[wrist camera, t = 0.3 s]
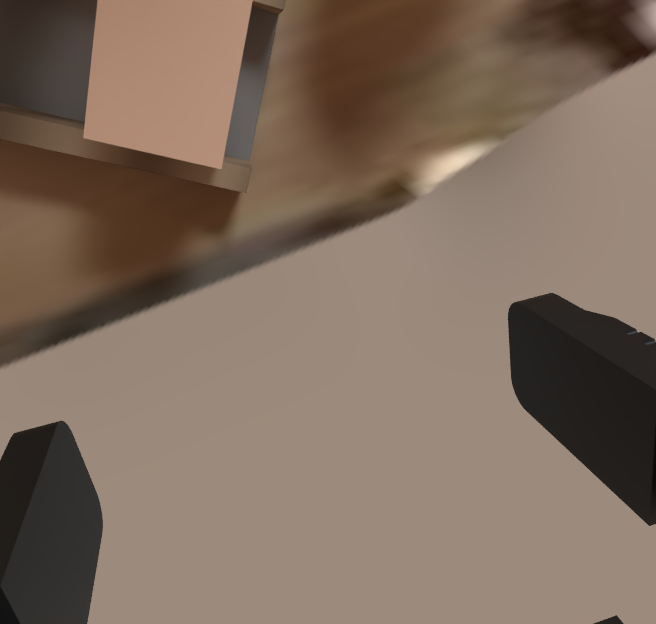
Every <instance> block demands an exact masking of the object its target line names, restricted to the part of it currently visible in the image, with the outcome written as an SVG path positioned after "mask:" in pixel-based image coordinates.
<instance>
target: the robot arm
mask: <svg viewBox="0 0 656 624" xmlns="http://www.w3.org/2000/svg"><path fill="white" fill-rule="evenodd" d="M508 324H509V325H508V326H509V344H510V365H511V380H512V385H513V388H514V391H515V394H516V396H517V398H518V400H519V402H520V404H521V405H522V406H523V408H524V409H525V410H526V411H527V412H528V413H529V414H530V415H531V416H532V417H534V418H535V419H536V420H537V421H538V422H539V423H540V424H541V425H542V426H543V427H544V428H545V429H546V430H548V432H550V433H551V434H552V435H553V436H554V437H555V438H556V439H557V440H558V441H559V442H560V443H561V444H562V445H564V446H565V447H566V448H567V449H568V450H569V451H570V452H571V453H572V454H573V455H574V456H575V457H576V458H577V459H578V460H579V461H581V462H582V463H583V464H584V465H585V466H586V467H587V468H588V469H589V470H590V471H591V472H592V473H593V474H594V475H596V476H597V477H598V478H599V479H600V480H601V481H602V482H603V483H604V484H605V485H606V486H607V487H608V488H609V489H610V490H611V491H613V492H614V493H615V494H616V495H617V496H618V497H619V498H620V499H621V500H622V501H623V502H625V504H627V505H628V506H629V507H630V508H631V509H632V510H633V511H634V512H635V513H636V514H637V515H638V516H639V517H640V518H641V519H642V520H644V521H645V522H646V523H647V524H648V525H649V526H651V525H653V524H656V342H655V339H653V338H651V337H649V336H648V335H646V334H644V333H642V332H639V333H638V332H637V330H636V329H635V328H633V327H631V326H629V325H627V324H625V323H623V322H621V321H620V320H618V319H616V318H613V317H610V316H606V315H602V314H598V313H593V312H590V311H586V310H583V309H582V308H580V307H578V306H576V305H574V304H572V303H571V302H569V301H567V300H565V299H563V298H562V297H560V296H558V295H556V294H554V293H549V294H545V295H542V296H537V297H534V298H530V299H526V300H522V301H518V302H515V303H513V304H512V305H511V306H510V308H509V312H508ZM102 529H103V520H102V512H101V507H100V502H99V498H98V495H97V493H96V490H95V488H94V485H93V483H92V481H91V478H90V475H89V473H88V470H87V468H86V466H85V463H84V461H83V458H82V456H81V453H80V451H79V448H78V446H77V444H76V441H75V439H74V436H73V434H72V432H71V430H70V428H69V426H68V425H67V424H66V423H65V422H64V421H59V422H55V423H51V424H47V425H44V426H40V427H36V428H32V429H28V430H24V431H21V432H17V433H14V434H13V435H12V437H11V439H10V441H9V443H8V445H7V447H6V449H5V451H4V454H3V456H2V458H1V460H0V624H87V621H88V615H89V609H90V603H91V597H92V590H93V585H94V579H95V573H96V567H97V561H98V555H99V549H100V543H101V537H102ZM594 624H623V623H622V621H621V620H620V619H619V618H618V617H617V616H614V617H611V618H608V619H605V620H603V621H600V622H597V623H594Z"/></svg>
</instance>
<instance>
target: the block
mask: <svg viewBox="0 0 656 624" xmlns="http://www.w3.org/2000/svg"><path fill="white" fill-rule="evenodd" d="M252 2H253V0H98V1H97V11H96V20H95V30H94V39H93V49H92V58H91V68H90V77H89V87H88V96H87V106H86V116H85V125H84V135H83V138H85V139H90V140H94V141H99V142H103V143H107V144H112V145H116V146H121V147H125V148H129V149H134V150H138V151H143V152H147V153H151V154H156V155H160V156H165V157H169V158H173V159H178V160H182V161H187V162H191V163H196V164H200V165H204V166H209V167H213V168H218V169H222V164H223V158H224V153H225V147H226V142H227V137H228V131H229V126H230V120H231V115H232V110H233V104H234V99H235V94H236V88H237V83H238V77H239V72H240V67H241V61H242V56H243V50H244V45H245V40H246V34H247V29H248V23H249V18H250V13H251V7H252Z"/></svg>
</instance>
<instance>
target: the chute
mask: <svg viewBox="0 0 656 624" xmlns="http://www.w3.org/2000/svg"><path fill="white" fill-rule="evenodd" d="M97 1H98V0H0V139H2V140H7V141H11V142H16V143H20V144H25V145H29V146H34V147H39V148H43V149H48V150H52V151H57V152H61V153H66V154H70V155H75V156H80V157H84V158H89V159H93V160H98V161H102V162H107V163H111V164H116V165H121V166H125V167H130V168H134V169H139V170H143V171H148V172H152V173H157V174H162V175H166V176H171V177H175V178H180V179H184V180H189V181H193V182H198V183H203V184H207V185H212V186H216V187H221V188H225V189H230V190H235V191H239V192H244V193H247V188H248V183H249V178H250V173H251V165H250V162H249V159H250V154H251V149H252V144H253V139H254V134H255V129H256V124H257V119H258V114H259V109H260V104H261V99H262V94H263V89H264V84H265V79H266V74H267V69H268V64H269V59H270V54H271V49H272V44H273V39H274V34H275V29H276V24H277V19H278V15H279V14H280V13H281V12H282V11H283V10H284V5H285V0H253V2H252V7H251V13H250V18H249V23H248V29H247V34H246V40H245V45H244V50H243V56H242V61H241V67H240V72H239V77H238V83H237V88H236V94H235V99H234V104H233V110H232V115H231V120H230V126H229V131H228V137H227V142H226V147H225V153H224V158H223V164H222V169H218V168H213V167H209V166H204V165H200V164H196V163H191V162H187V161H182V160H178V159H173V158H169V157H165V156H160V155H156V154H151V153H147V152H143V151H138V150H134V149H129V148H125V147H121V146H116V145H112V144H107V143H103V142H99V141H94V140H90V139H85V138H83V135H84V125H85V116H86V106H87V96H88V87H89V77H90V68H91V58H92V49H93V39H94V30H95V20H96V11H97Z"/></svg>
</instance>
